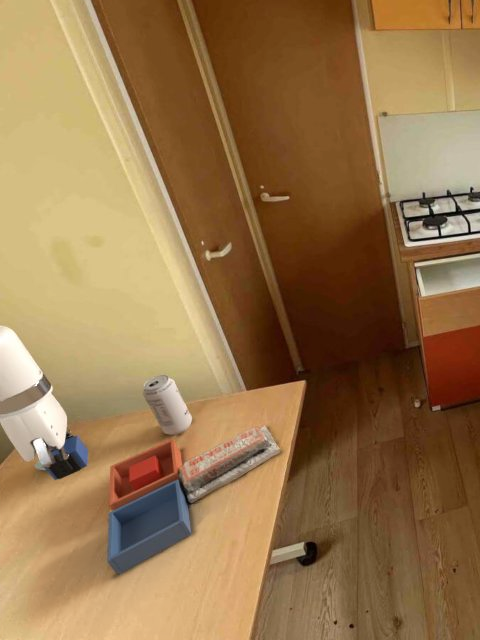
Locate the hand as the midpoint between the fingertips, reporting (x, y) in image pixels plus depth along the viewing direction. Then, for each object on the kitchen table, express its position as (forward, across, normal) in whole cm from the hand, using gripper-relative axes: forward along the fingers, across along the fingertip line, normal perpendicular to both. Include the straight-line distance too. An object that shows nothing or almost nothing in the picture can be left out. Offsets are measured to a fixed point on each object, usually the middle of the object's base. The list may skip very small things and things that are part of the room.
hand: (70, 463), depth 80 cm
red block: (+15, -2, +7) cm, 17 cm away
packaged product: (+16, +4, +22) cm, 27 cm away
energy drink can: (+16, -17, +14) cm, 27 cm away
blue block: (+1, 0, 0) cm, 1 cm away
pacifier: (+16, -23, -8) cm, 29 cm away
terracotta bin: (+16, -2, +7) cm, 17 cm away
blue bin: (+16, +11, +7) cm, 20 cm away
